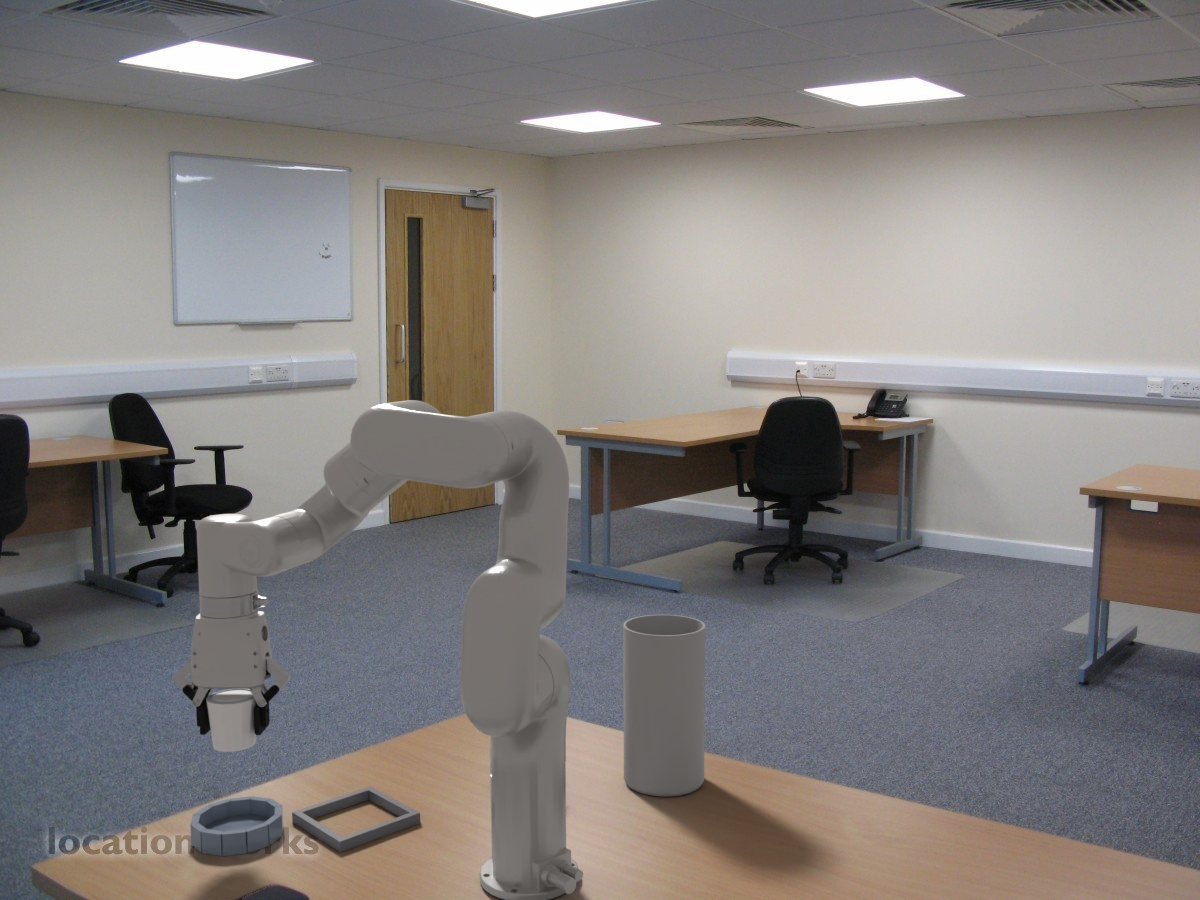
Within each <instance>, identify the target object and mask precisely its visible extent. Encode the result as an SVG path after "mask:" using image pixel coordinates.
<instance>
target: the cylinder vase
mask: <svg viewBox="0 0 1200 900" xmlns="http://www.w3.org/2000/svg"><path fill="white" fill-rule="evenodd" d="M622 633H623V635H622V636H623V637H622V638H623V641H622V642H623V643H622V644H623V646H622V647H623V650H622V651H623V658H622V659H623V660H622V661H623V663H622V664H623V666H622V667H623V675H622V676H623V780H624V782H625V783H626V785H627V786H628V787H629V788H630V789H631V790H634V791H635V792H637V793H640V794H643V795H647V796H652V797H661V798H662V797H664V798H665V797H670V798H671V797H679V796H683V795H688V794H691V793H693V792H695V791H697V790H698V789H699V788H700V787H701V786H702V785H703V784H704V781H705V739H706V738H705V729H706V728H705V722H706V720H705V719H706V718H705V716H706V715H705V714H706V713H705V711H706V709H705V708H706V705H705V704H706V701H705V698H706V697H705V691H706V690H705V689H706V688H705V687H706V686H705V685H706V684H705V682H706V680H705V679H706V678H705V677H706V669H705V668H706V654H705V653H706V624H705V623H704V621H701V620H700V619H697V618H694V617H690V616H686V615H679V614H676V615H675V614H649V615H641V616H635V617H632V618H629V619H627V620H626V621H624V622H623V631H622Z"/></svg>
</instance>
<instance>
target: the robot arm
mask: <svg viewBox="0 0 1200 900" xmlns="http://www.w3.org/2000/svg"><path fill="white" fill-rule="evenodd" d="M323 477H324V481H325V484H324V485H323V486H322V487H321V488H320V489H319V490H318V491H316V492H315V493H314V494H313V495H311V496H310V497H309V498H308V499H307V500H305V501H304V502H303V503H302V504H300V505H299V506H298V507H296V508H294V509H293V510H291V511H290V510H289V511H286V512H282V513H280V514H275V515H273V516H267V517H265V518H261V519H257V520H253V519H252V518H251V517H250V516H249V515H245V514H241V513H222V514H221V513H220V514H213V515H209V516H208V515H207V516H206V517H203V518H202V519H201V520H200V521H199V522H198V524H197V526H196V547H197V548H196V549H197V571H198V572H197V573H198V592H199V593H198V594H199V613H198V614H197V615H196V616H195V619H194V625H193V631H192V638H191V648H190V649H191V652H190V661H189V662H187V663H186V664H185V665H184V666H183V667H182V668H181V669H179V670H178V671H177V672H176V673H174V675H173V676H172V678H171V679H172V681H173V682H174V683H175V684H176V686H177V687H178V688H179V689H181V690H182V693H183V694H184V695H185V697H187V698H188V699H189V700H190V701H191V702H192V706H194V707H195V708H196V710H195V711H196V712H195V713H196V726H197V727H198V728H199V735H201V736H205V735H207V734H208V732H211V729H210V722H209V715H208V708H207V701H206V698H207V697H208V696H209V695H211V693H212V691H213V689H214V690H215V689H216V690H217V689H219V690H228V689H250V691H251V693H252V695H253V697H254V699H255V700H256V702H257V705H256V706H255V707H254V733H255V734H256V736H261V735H262V733H264V731H266V729H267V728H268V727H269V726H270V722H271V718H270V702H271V700H272V699H273V698H274V697H275V696H276V695H277V694H278V693H279V692H280V691H281V690H282V689H283V688H284V686H285V685H287V683H288V681H290V680H291V678H292V677H291V676H292V675H291V673H289V672H288V671H287V670H286V669H285V668H283V667H282V666H281V665H280V664H279V663H278V662H276V661H275V660H274V659H273V654H272V653H273V651H272V645H271V637H270V632H269V631H270V630H269V625H268V621H267V618H266V613H265V611H263V610H260V609H261V608H265V607H267V606H268V603H269V598H268V597H267V596H262V595H260V591H259V590H258V579H257V578H258V577H259V578H260V577H261V578H265V577H266V578H267V577H272V576H275V575H278V574H281V573H283V572H286V571H289V570H291V569H293V568H296V567H299V566H302V565H304V564H307V563H310V562H313V561H315V560H316V559H318V558H319V557H321V556H323V554H325V553H327V552H328V551H329V550H331V549H332V548H334V546H335V545H337V544H338V543H339V542H341V541H343V539H345V538H346V537H347V536H348V535H350V534H351V533H352V532H354V530H355V529H357V527H358V526H359V525H360V524H361V523H362V522H363V521H364V520H365V519H366V518H367V516H368V515H369V514H370V511H372V510H373V509H374V508H375V507H377V506H378V505H379V504H380V503H381V502H383V501H384V500H386V499H387V498H388V497H389V496H390V495H391V494H393V493H395V491H396V490H398V489H400V487H402V486H404V484H406V483H407V482H409V481H412V482H418V483H424V484H431V485H436V486H437V485H438V486H444V487H449V488H450V487H451V488H457V489H478V488H483V487H486V486H487V487H488V486H489V485H492V484H495V483H499V482H501V481H502V482H503V483H504V496H503V500H502V504H501V508H500V511H499V520H498V521H499V522H498V545H497V546H498V548H497V557H496V562H495V565H493V566H491V567H490V568H488V569H486V570H484V571H483V572H482V573H481V574H480V575H478V577H476V578H475V580H474V581H473V583H472V584H471V586H470V588H469V590H468V591H467V595H466V597H465V602H464V605H463V610H462V611H463V612H462V627H461V629H462V630H461V649H460V650H461V653H460V690H459V691H460V698H461V704H462V707H463V711H464V713H465V715H466V717H467V719H468V720H469V721H470V723H471V724H472V725H473V727H474V728H475V729H477V731H479V732H481V733H482V734H484V735H486V736H489V737H490V746H489V747H490V748H489V749H490V750H489V751H490V752H489V753H490V756H489V757H490V770H489V771H490V824H491V825H490V826H491V827H490V828H491V833H490V834H491V837H490V838H491V858H489V859H488V860H486V862H484V863H483V865H482V866H481V868H480V870H479V882H480V885H481V887H482V888H483V889H484V891H485V892H487V893H489V894H490V895H491V896H494V897H496V898H497V899H501V900H552V899H555V898H557V897H560V896H562V895H564V894H567V895H570V894H573V892H575V890H576V888H577V883H578V882H580V881H581V880H582V879H583V878H584V872H583V870H581V869H579V866H578V864H577V862H576V861H575V860H574V859H573V858H572V850H571V849H569V848H567V813H566V812H567V798H566V797H567V796H566V795H567V789H566V785H567V784H566V779H567V777H566V775H567V772H566V769H567V768H566V766H567V765H566V764H567V763H566V761H567V759H566V758H567V756H566V755H567V752H566V751H567V746H566V745H567V743H566V742H567V741H566V739H567V732H566V731H567V717H568V708H569V701H570V700H569V699H570V690H571V670H570V664H569V662H568V661H569V660H568V658H567V655H566V653H565V652H564V650H563V649H562V646H560V644H558V642H556V641H555V640H554V639H552V638H551V637H549V636H546V635H544V634H541V633H540V632H541V631H542V630H543V629H545V627H547V626H549V624H551V623H552V622H553V621H554V620H555V619H556V618H557V617H558V616H559V615H560V613H561V612H562V610H563V608H564V606H565V602H566V596H567V595H566V593H567V560H568V559H567V558H568V539H569V538H568V531H569V530H568V523H569V507H570V506H569V504H570V503H569V502H570V501H569V500H570V475H569V467H568V462H567V459H566V455H565V452H564V449H563V448H562V446H561V444H560V443H559V441H558V439H557V438H556V437H555V435H554V434H553V433H552V431H551V430H550V429H548V428H547V427H546V426H545V425H544V424H543V423H541V422H540V421H538V420H537V419H536V418H533V417H531V416H529V415H527V414H525V413H521V412H517V411H511V410H497V411H491V412H490V411H489V412H484V413H480V414H473V415H469V416H463V415H461V416H460V415H454V414H445V413H442V412H440V411H439V410H438V409H437V408H436V407H435V406H433V405H431V404H430V403H428V402H425V401H423V400H415V399H412V400H411V399H408V400H401V401H393V402H391V401H390V402H385V403H380V404H377V405H374V406H371V407H369V408H368V409H366V410H364V412H362V414H361V415H359V417H358V418H357V419H356V420H355V422H354V424H353V427H352V429H351V433H350V441H349V443H347V444H346V445H345V446H343V447H342V448H341V449H340V450H338V451H337V452H336V453H335V454H333V455H332V456H331V457H330V458H329V459H328V460H327V461H326V462H325V464H324V468H323ZM189 675H190V676H191V677H190V678H189ZM271 677H274V679H275V681H274V682H273V684H272V685H271V686H270V687H268V685H267V683H266V681H265V680H268V679H270V678H271ZM190 679H191V680H190Z"/></svg>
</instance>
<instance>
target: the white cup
mask: <svg viewBox="0 0 1200 900" xmlns="http://www.w3.org/2000/svg"><path fill="white" fill-rule="evenodd" d="M206 701H207V708H208V715H209V722H210V729H211V730H210V734H211V736H210V737H211V742H212V748H213V749H214V750H215V751H216V752H221V753H222V752H223V753H235V752H239V751H244V750H246V749H250V748H252V747H253V746H255V745H256V743H257V735H256V734H255V733H254V707H255V706H256V705H257V702H256V700H255V699H254V697H253V695H252V693H251V691H250V689H221V690H219V691H215V692H213V693H210V695H209V696H208V697H207V698H206Z"/></svg>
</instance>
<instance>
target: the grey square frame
mask: <svg viewBox="0 0 1200 900" xmlns="http://www.w3.org/2000/svg"><path fill="white" fill-rule="evenodd" d="M366 801H370V802H371V803H374V804H375V805H377V806H379V807H381V808H383V809H385V810H387V811H388V812H390V813H392V814H394V815H395V816H397V817H395V818H392V819H389V820H386V821H383V822H380V823H377V824H375V825H372V826H369V827H367V828H363V829H361V830H358V831H355V832H353V833H350V834H346V835H344V836H341V835H340V834H338V833H336V832H335V831H333V830H332V829H330V828H328V826H327V827H326V826H325V825H324V824H322V823H321V822H318V820H315V818H319V817H323V816H325V815H328V814H331V813H334V812H336V811H340V810H343V809H346V808H348V807H352V806H354V805H357V804H360V803H363V802H366ZM291 816H292V817H291V818H292V823H293V824H295V825H296V826H297V827H299V828H301V829H303V830H304V831H306V832H307V833H309V834H310V835H312V836H313V837H315V838H317V839H318V840H319V841H322V842H323V843H324V844H326V845H327V846H329V847H331V848H332V849H334V850H336V851H337V852H339V853H342V852H344V851H347V850H351V849H354V848H356V847H358V846H362V845H364V844H366V843H369V842H372V841H374V840H377V839H381V838H383V837H386V836H389V835H391V834H393V833H396V832H399V831H403V830H404V829H407V828H411V827H412V826H416V825H418V824H421V812H419V811H418V810H416V809H414V808H413V807H410V806H409V805H407V804H405V803H403V802H401V801H399V800H397V799H396V798H393V797H392V796H390V795H388V794H386V793H384V792H382V791H380V790H379V789H376V788H374V787H373V786H371V785H370V786H367V787H364V788H362V789H359V790H356V791H352V792H349V793H346V794H344V795H340V796H337V797H334V798H331V799H329V800H325V801H322V802H319V803H315V804H313V805H310V806H307V807H304V808H300V809H298V810H295V811H292V812H291ZM415 824H416V825H415Z"/></svg>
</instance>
